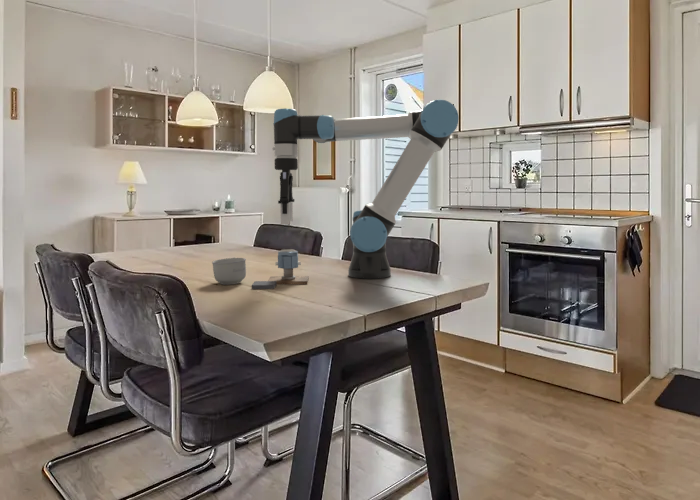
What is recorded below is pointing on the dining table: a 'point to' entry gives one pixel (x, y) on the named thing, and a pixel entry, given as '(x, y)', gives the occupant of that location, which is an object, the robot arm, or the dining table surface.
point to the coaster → (264, 285)
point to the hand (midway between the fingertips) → (287, 222)
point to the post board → (289, 278)
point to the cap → (287, 259)
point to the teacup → (229, 270)
